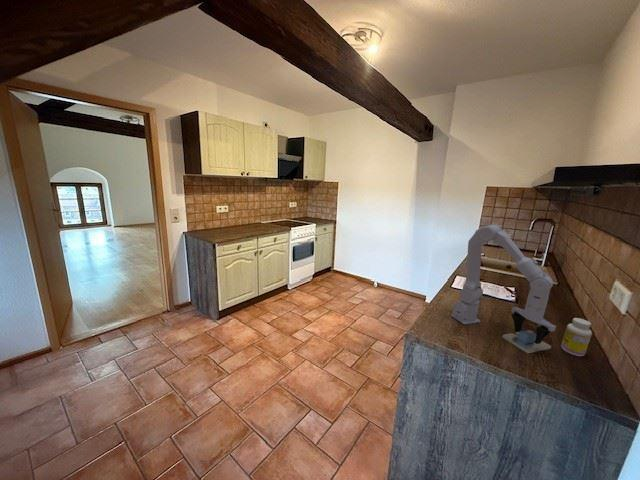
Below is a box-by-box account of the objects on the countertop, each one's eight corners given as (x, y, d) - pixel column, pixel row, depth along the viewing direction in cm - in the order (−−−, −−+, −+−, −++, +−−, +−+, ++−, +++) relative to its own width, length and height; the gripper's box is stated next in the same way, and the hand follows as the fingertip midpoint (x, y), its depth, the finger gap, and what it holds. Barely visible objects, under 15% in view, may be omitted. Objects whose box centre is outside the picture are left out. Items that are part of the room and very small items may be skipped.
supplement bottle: (559, 343, 101) (568, 314, 98) (583, 350, 97) (593, 320, 94) (561, 351, 96) (570, 321, 93) (585, 359, 92) (596, 328, 89)
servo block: (524, 346, 99) (527, 334, 97) (516, 341, 101) (519, 330, 100) (533, 344, 100) (536, 333, 99) (525, 340, 103) (528, 328, 102)
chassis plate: (527, 353, 94) (528, 350, 94) (502, 337, 104) (502, 334, 103) (550, 348, 98) (551, 346, 97) (523, 333, 107) (524, 331, 107)
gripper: (565, 314, 91) (555, 347, 94) (523, 296, 105) (516, 325, 108) (551, 316, 89) (541, 350, 92) (511, 297, 103) (503, 327, 106)
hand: (527, 337), depth 100 cm, fingers open, 7 cm apart
